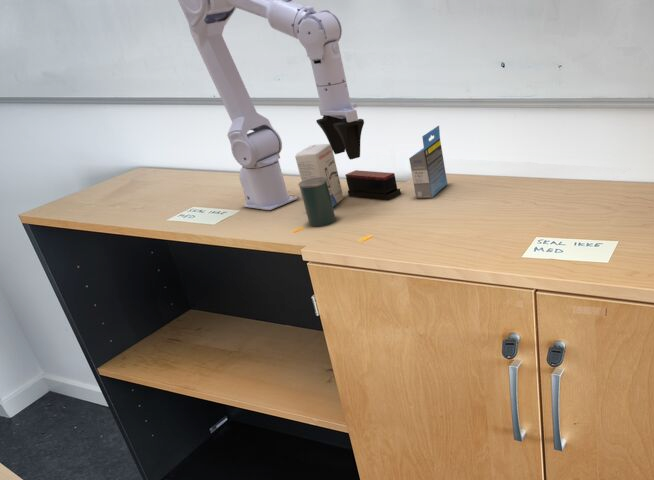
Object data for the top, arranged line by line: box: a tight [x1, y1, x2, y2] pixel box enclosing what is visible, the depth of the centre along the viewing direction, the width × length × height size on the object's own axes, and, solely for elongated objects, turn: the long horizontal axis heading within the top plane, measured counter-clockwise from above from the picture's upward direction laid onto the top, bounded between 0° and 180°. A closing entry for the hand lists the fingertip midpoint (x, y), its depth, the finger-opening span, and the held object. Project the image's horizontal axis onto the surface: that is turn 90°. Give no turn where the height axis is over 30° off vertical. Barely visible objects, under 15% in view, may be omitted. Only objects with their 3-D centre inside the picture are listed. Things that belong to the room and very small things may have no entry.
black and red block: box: [345, 169, 402, 201], centre depth 144 cm, size 12×4×5 cm, turn 53°
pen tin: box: [298, 177, 337, 228], centre depth 132 cm, size 5×5×8 cm
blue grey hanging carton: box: [408, 125, 448, 199], centre depth 139 cm, size 9×4×12 cm, turn 160°
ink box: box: [295, 143, 345, 208], centre depth 141 cm, size 9×5×12 cm, turn 168°
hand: (347, 155), depth 136 cm, fingers open, 7 cm apart
